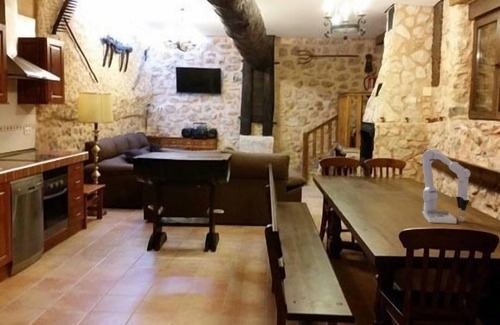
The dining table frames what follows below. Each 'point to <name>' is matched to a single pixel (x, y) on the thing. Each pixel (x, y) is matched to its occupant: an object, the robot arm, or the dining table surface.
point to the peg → (461, 215)
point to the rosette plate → (439, 217)
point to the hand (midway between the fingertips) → (461, 209)
